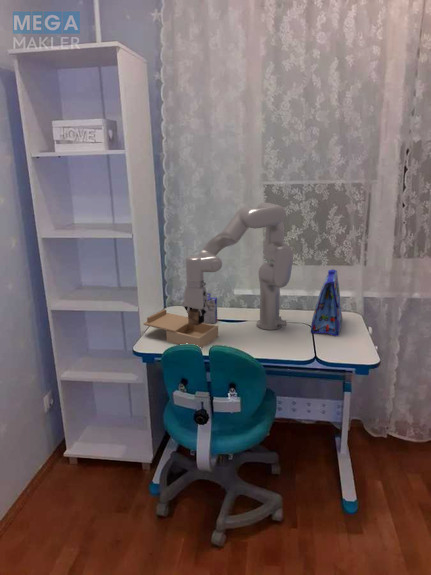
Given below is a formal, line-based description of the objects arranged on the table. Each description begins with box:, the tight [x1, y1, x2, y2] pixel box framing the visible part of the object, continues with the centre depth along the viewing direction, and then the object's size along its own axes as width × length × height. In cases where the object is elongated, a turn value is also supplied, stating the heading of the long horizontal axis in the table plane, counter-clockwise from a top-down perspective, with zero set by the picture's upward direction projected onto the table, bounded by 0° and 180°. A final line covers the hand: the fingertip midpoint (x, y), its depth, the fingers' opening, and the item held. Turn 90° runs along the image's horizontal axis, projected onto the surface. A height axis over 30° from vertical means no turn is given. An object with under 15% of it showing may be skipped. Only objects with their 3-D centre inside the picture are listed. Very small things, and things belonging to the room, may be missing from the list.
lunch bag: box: [310, 269, 343, 337], centre depth 222 cm, size 22×14×29 cm, turn 161°
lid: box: [143, 308, 189, 332], centre depth 220 cm, size 18×16×3 cm
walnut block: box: [187, 308, 202, 326], centre depth 211 cm, size 5×5×6 cm
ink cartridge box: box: [203, 292, 218, 324], centre depth 235 cm, size 10×6×14 cm, turn 79°
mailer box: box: [165, 323, 219, 349], centre depth 215 cm, size 18×16×5 cm
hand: (196, 321), depth 212 cm, fingers closed on walnut block, 5 cm apart
